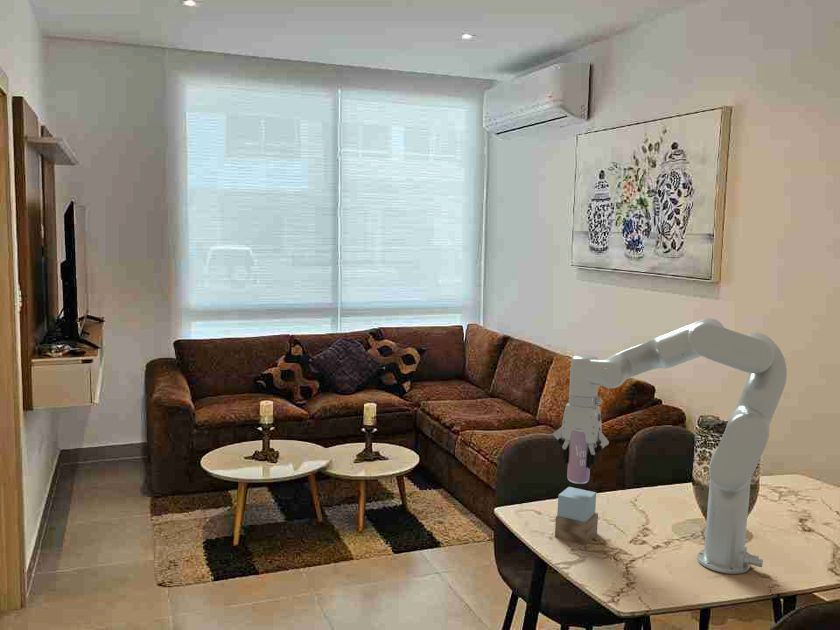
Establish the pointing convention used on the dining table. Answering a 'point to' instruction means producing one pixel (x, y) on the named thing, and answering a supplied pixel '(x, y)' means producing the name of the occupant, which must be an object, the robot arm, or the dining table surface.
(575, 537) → the base block
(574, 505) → the top block
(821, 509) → the dining table surface
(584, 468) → the beverage can
